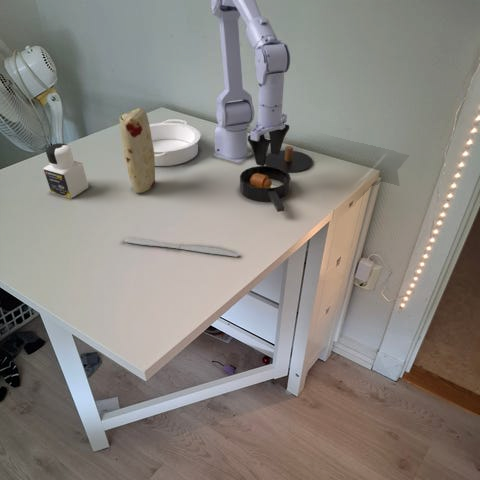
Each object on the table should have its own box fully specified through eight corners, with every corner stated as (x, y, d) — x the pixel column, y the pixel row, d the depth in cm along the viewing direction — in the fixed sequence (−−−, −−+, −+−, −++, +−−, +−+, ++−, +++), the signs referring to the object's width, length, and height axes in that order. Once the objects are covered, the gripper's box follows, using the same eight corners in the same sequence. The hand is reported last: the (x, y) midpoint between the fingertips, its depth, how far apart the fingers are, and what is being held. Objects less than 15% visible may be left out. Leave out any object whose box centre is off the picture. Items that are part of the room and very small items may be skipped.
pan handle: (267, 194, 111) (267, 190, 111) (274, 193, 112) (274, 189, 111) (277, 212, 105) (277, 208, 104) (284, 211, 105) (284, 207, 105)
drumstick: (247, 188, 118) (247, 174, 115) (254, 182, 120) (255, 169, 118) (278, 197, 114) (279, 184, 111) (285, 191, 116) (286, 178, 114)
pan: (230, 194, 116) (230, 180, 113) (256, 175, 124) (256, 161, 121) (273, 208, 111) (274, 194, 108) (297, 187, 119) (299, 173, 116)
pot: (147, 131, 147) (145, 116, 144) (211, 136, 144) (210, 121, 141) (113, 169, 127) (110, 153, 124) (187, 175, 124) (186, 159, 121)
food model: (147, 198, 115) (134, 119, 101) (125, 194, 116) (109, 116, 102) (163, 181, 122) (153, 105, 108) (142, 178, 123) (129, 102, 109)
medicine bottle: (50, 193, 117) (36, 148, 109) (69, 181, 121) (57, 138, 113) (70, 199, 115) (57, 154, 106) (89, 187, 119) (78, 143, 111)
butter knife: (128, 234, 102) (122, 240, 99) (240, 251, 97) (237, 258, 95) (128, 236, 102) (123, 242, 100) (240, 253, 98) (237, 260, 95)
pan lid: (255, 167, 128) (255, 150, 124) (278, 149, 136) (279, 134, 133) (298, 179, 122) (300, 162, 119) (320, 160, 131) (322, 144, 127)
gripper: (269, 116, 97) (267, 173, 107) (299, 97, 106) (294, 152, 115) (243, 110, 100) (242, 166, 109) (274, 92, 109) (271, 146, 118)
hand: (267, 159), depth 113 cm, fingers open, 7 cm apart
